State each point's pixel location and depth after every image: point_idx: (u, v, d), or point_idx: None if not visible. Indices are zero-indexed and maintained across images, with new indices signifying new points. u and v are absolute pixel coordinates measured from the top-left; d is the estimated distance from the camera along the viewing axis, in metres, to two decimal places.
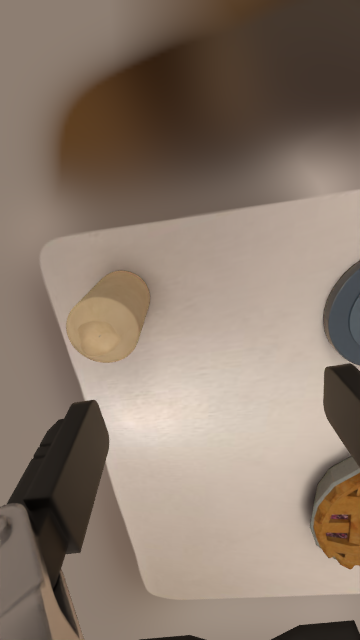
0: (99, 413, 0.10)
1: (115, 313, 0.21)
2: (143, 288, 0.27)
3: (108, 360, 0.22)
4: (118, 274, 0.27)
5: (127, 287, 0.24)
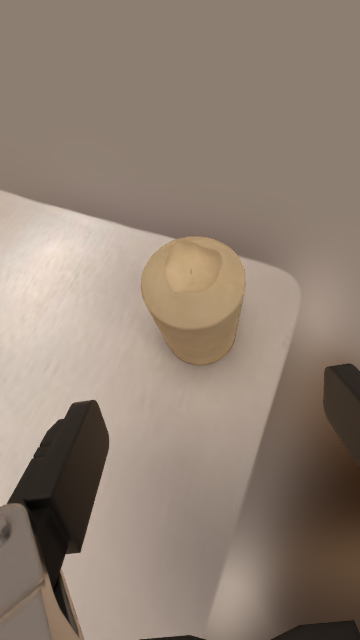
0: (99, 413, 0.10)
1: (209, 308, 0.14)
2: (200, 359, 0.20)
3: (151, 263, 0.15)
4: (232, 341, 0.20)
5: (219, 342, 0.17)
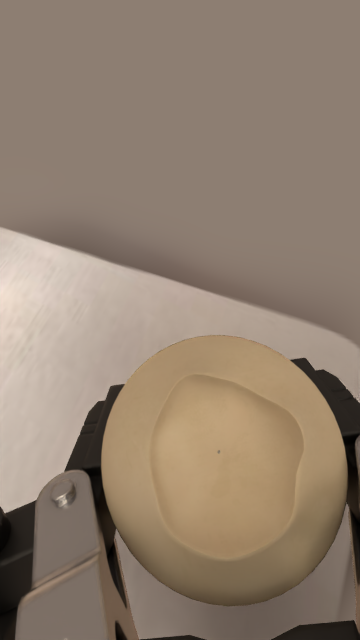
0: None
1: (272, 574, 0.05)
2: None
3: (124, 410, 0.07)
4: None
5: None
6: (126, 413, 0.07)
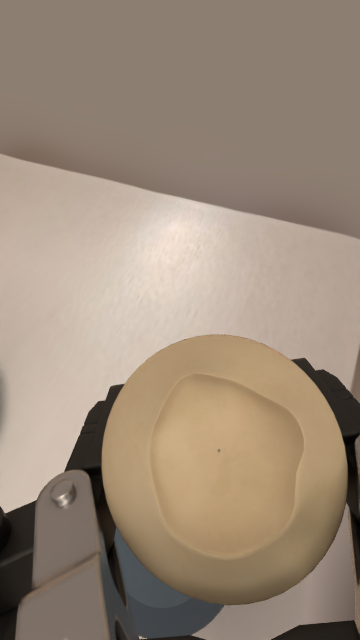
0: None
1: (272, 572, 0.05)
2: None
3: (124, 409, 0.07)
4: None
5: None
6: (126, 412, 0.07)
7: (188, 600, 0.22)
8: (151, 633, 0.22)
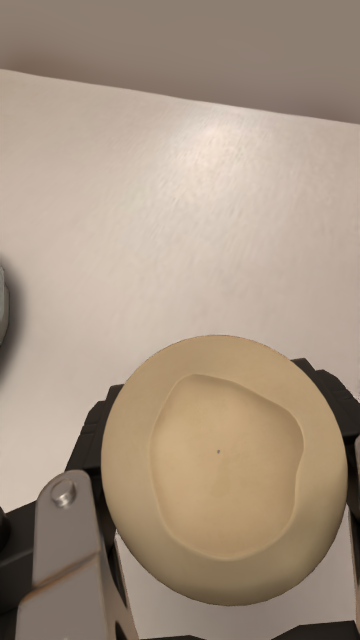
0: None
1: (272, 574, 0.05)
2: None
3: (124, 409, 0.07)
4: None
5: None
6: (126, 413, 0.07)
7: None
8: None
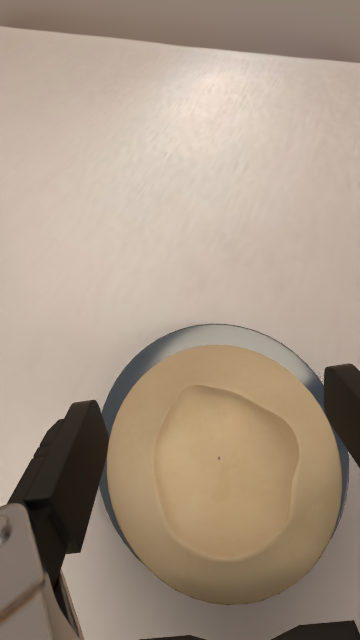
0: (99, 413, 0.10)
1: (269, 574, 0.05)
2: None
3: (128, 417, 0.07)
4: None
5: None
6: (130, 421, 0.07)
7: None
8: None
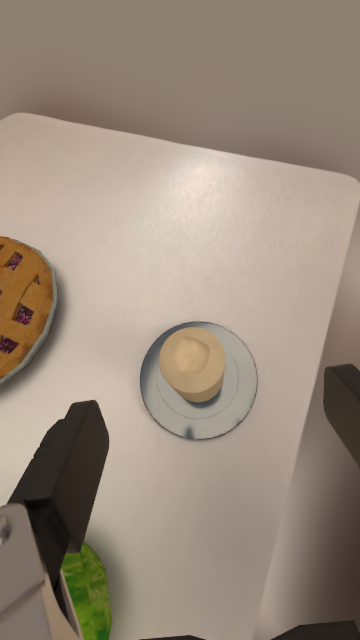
0: (99, 413, 0.10)
1: (202, 381, 0.22)
2: (197, 401, 0.29)
3: (165, 347, 0.24)
4: (220, 387, 0.29)
5: (210, 393, 0.26)
6: (166, 348, 0.24)
7: (219, 413, 0.30)
8: (192, 435, 0.30)
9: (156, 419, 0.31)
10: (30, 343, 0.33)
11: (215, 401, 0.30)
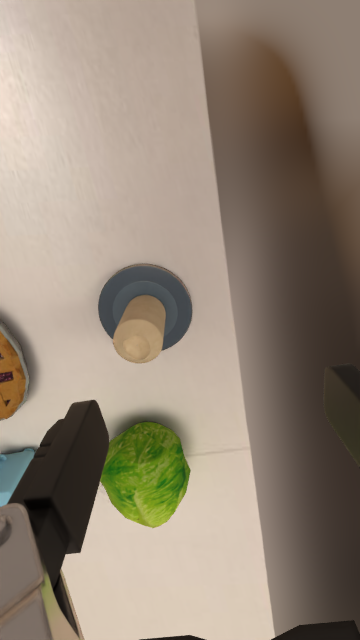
0: (99, 413, 0.10)
1: (154, 354, 0.32)
2: None
3: (117, 347, 0.32)
4: None
5: None
6: (118, 348, 0.32)
7: (174, 326, 0.41)
8: (165, 346, 0.42)
9: None
10: (18, 365, 0.40)
11: (167, 321, 0.40)
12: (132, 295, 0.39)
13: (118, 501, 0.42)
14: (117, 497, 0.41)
